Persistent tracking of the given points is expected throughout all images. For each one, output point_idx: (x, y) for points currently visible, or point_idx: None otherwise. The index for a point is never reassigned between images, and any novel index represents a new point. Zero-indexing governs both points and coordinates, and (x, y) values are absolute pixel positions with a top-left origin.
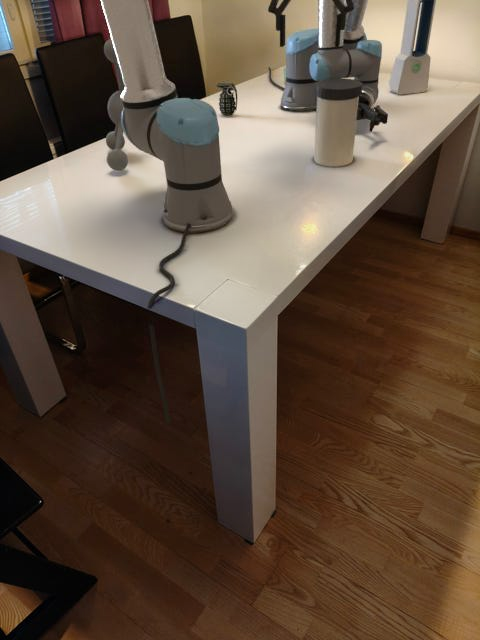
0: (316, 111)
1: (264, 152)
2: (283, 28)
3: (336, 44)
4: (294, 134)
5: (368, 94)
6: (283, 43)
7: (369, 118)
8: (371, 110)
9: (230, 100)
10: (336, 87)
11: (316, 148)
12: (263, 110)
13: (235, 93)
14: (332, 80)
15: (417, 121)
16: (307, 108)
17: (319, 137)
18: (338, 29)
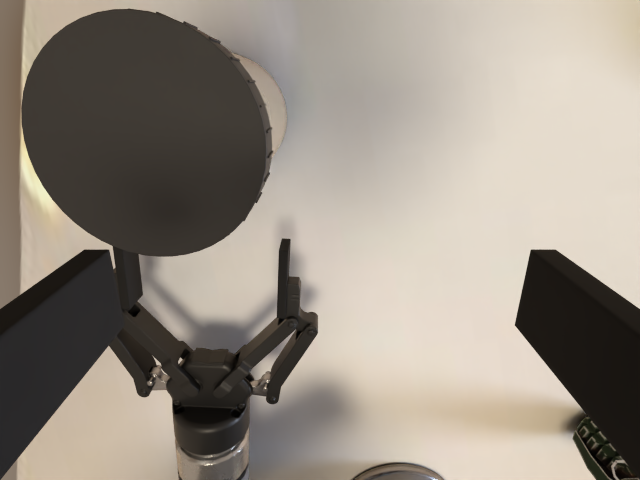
0: (266, 107)
1: (445, 146)
2: (611, 344)
3: (90, 255)
4: (380, 305)
5: (182, 454)
6: (536, 282)
7: (158, 326)
8: (150, 350)
9: (608, 450)
10: (131, 55)
11: (270, 81)
12: (493, 468)
13: (604, 472)
14: (196, 214)
15: (89, 429)
16: (376, 474)
17: (254, 67)
18: (3, 311)
